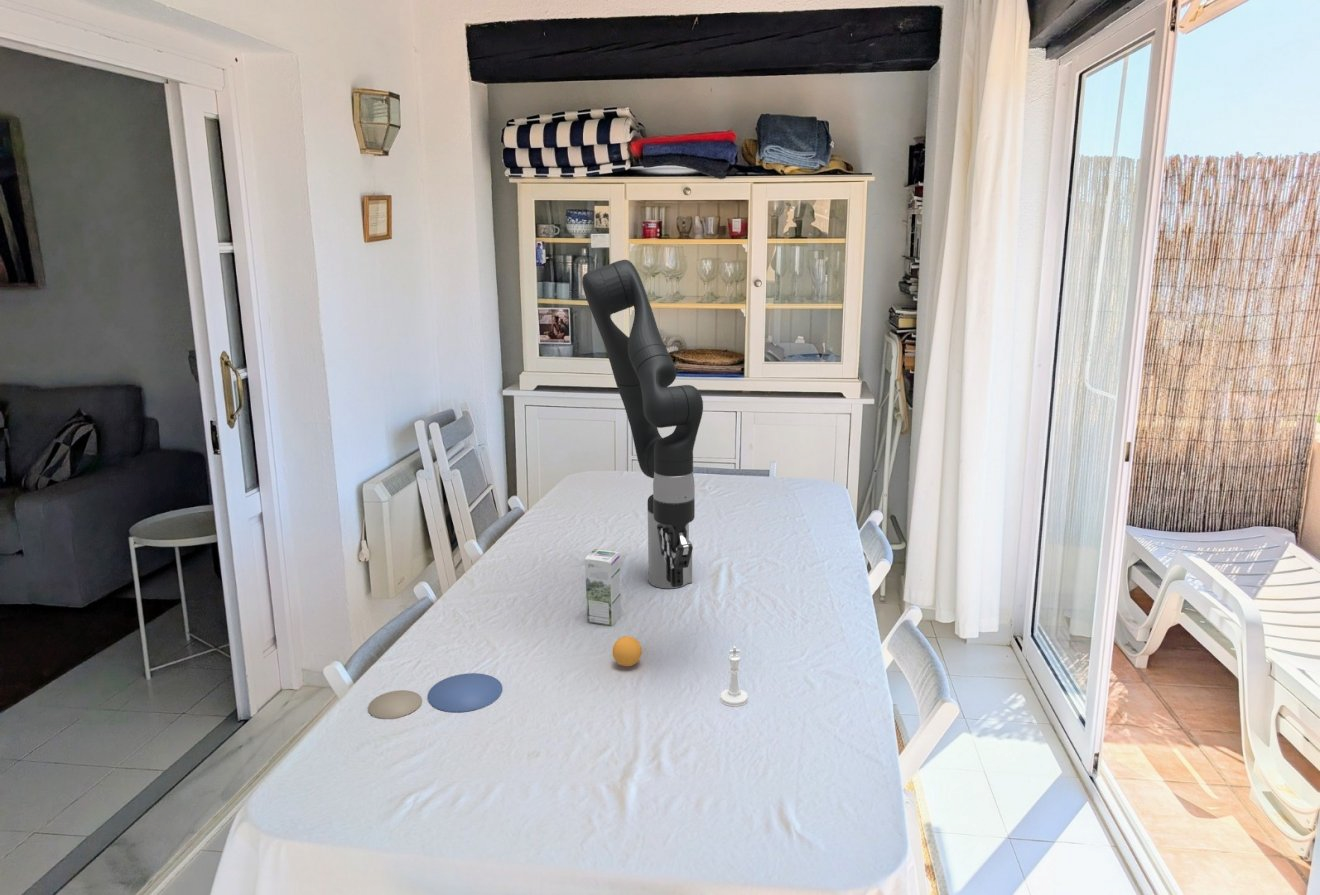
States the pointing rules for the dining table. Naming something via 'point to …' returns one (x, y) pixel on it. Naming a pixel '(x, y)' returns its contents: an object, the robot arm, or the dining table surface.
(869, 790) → the dining table surface
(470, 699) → the disc
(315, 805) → the dining table surface
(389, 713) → the disc
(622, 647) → the ball
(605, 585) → the syrup box
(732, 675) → the chess piece
